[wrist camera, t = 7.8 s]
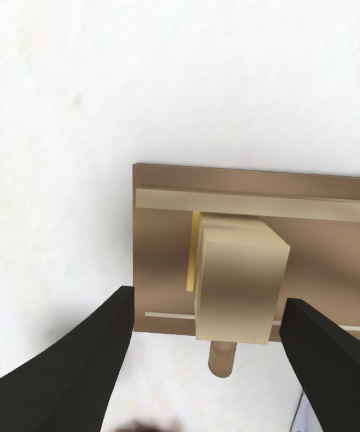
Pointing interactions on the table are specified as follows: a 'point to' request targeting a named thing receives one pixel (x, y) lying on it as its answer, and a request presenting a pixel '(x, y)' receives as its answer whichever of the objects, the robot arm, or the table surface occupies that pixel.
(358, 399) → the robot arm
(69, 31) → the table surface
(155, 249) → the walnut board
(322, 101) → the table surface
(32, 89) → the table surface
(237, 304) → the block
